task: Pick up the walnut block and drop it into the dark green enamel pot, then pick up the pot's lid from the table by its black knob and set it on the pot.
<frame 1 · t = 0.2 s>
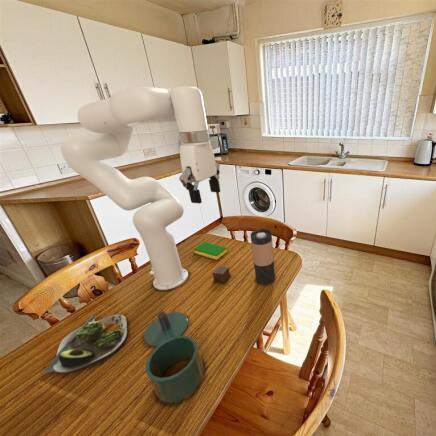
hand: (206, 197, 72), 36 cm above the table, tool pointing down, fingers open, 9 cm apart
salad plate: (93, 346, 68), on the table
travel mug: (265, 278, 93), on the table
pot: (180, 378, 59), on the table
block: (222, 279, 93), on the table
dish sponge: (211, 253, 111), on the table
lid: (166, 328, 72), point 1 cm above the table
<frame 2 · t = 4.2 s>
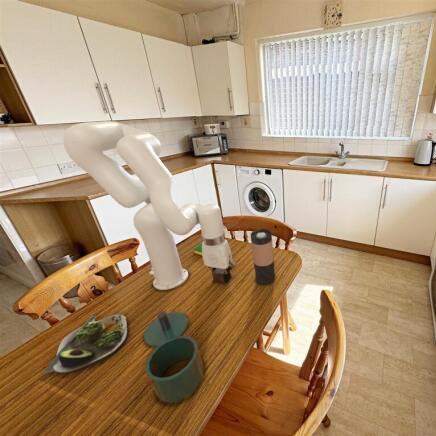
hand: (222, 278, 93), 0 cm above the table, tool pointing down, fingers closed on block, 4 cm apart
block: (222, 279, 93), on the table, touching gripper
everything else where it was.
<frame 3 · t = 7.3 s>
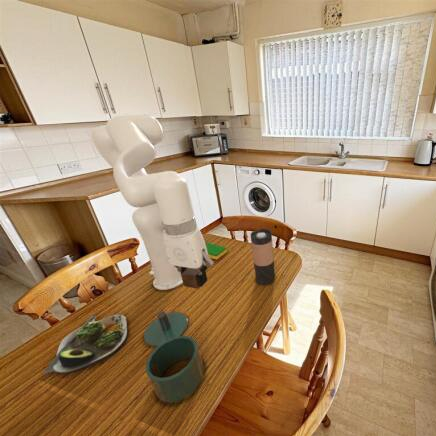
hand: (195, 281, 68), 16 cm above the table, tool pointing down, fingers closed on block, 4 cm apart
block: (196, 282, 69), point 15 cm above the table, touching gripper
everything else where it was.
when the fingers open (8 cm above the table, at t = 10.6 s): block drops 7 cm, resting on pot.
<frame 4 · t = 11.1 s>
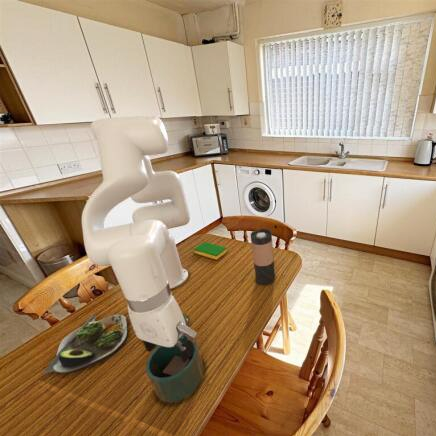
hand: (170, 351, 55), 10 cm above the table, tool pointing down, fingers open, 9 cm apart
block: (180, 377, 59), resting on pot
everything else where it was.
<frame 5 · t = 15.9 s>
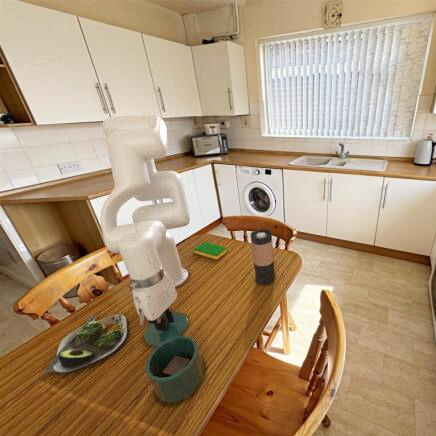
hand: (165, 325, 71), 2 cm above the table, tool pointing down, fingers closed on lid, 2 cm apart
lid: (166, 328, 72), point 1 cm above the table, touching gripper
everything else where it was.
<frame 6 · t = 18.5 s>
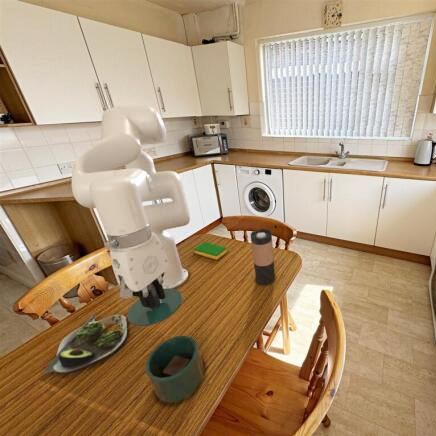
hand: (154, 301, 58), 19 cm above the table, tool pointing down, fingers closed on lid, 2 cm apart
lid: (156, 306, 59), point 17 cm above the table, touching gripper
everything else where it was.
when the fingers open (10 cm above the table, at t = 21.4 s): lid stays where it is, resting on pot.
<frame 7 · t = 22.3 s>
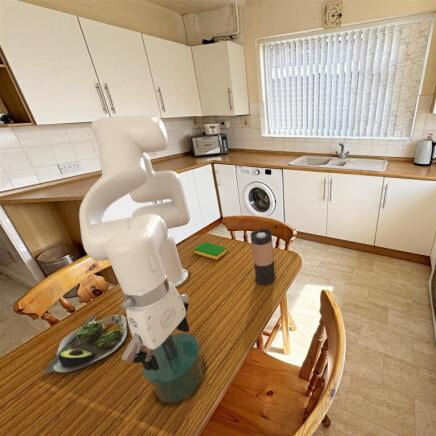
hand: (169, 347, 54), 11 cm above the table, tool pointing down, fingers open, 9 cm apart
lid: (172, 356, 55), point 8 cm above the table, touching pot
everything else where it was.
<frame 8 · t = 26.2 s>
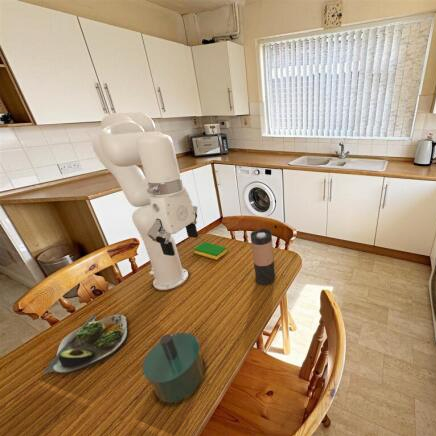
hand: (182, 245, 67), 26 cm above the table, tool pointing down, fingers open, 9 cm apart
nothing on the table moved.
at the end: block inside the target area in the pot (0.1 cm from its centre), point 0.5 cm above the pot's base; lid 0.0 cm off-centre on the pot, point 8.5 cm above the pot's base; lid tilted 0° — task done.
